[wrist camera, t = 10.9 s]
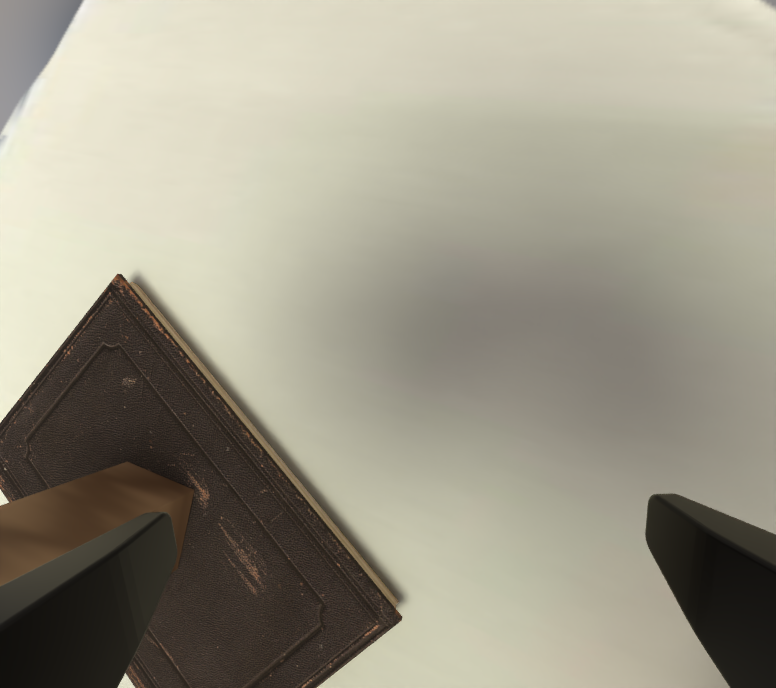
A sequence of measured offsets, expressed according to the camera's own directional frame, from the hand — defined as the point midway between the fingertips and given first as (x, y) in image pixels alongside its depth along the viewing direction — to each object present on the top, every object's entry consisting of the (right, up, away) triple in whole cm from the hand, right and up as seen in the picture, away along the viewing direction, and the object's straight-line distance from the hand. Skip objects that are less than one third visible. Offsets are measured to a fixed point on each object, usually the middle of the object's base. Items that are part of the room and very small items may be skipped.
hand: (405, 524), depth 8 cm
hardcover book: (-12, -7, +18) cm, 23 cm away
